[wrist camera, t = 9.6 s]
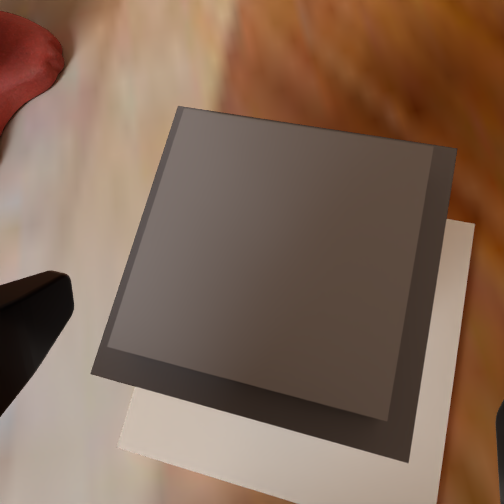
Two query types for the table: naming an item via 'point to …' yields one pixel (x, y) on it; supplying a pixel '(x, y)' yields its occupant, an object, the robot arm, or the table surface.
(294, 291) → the plug
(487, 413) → the table surface
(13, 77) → the stacking bear
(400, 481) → the socket
